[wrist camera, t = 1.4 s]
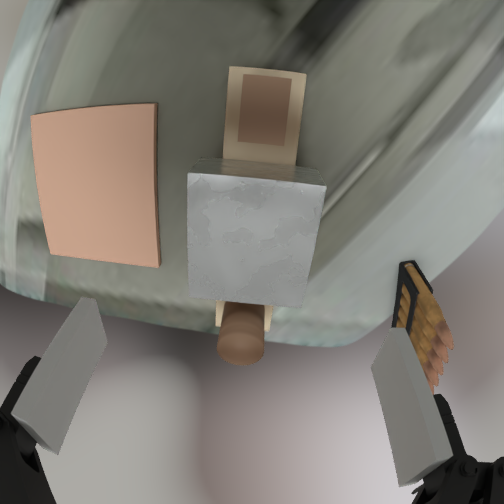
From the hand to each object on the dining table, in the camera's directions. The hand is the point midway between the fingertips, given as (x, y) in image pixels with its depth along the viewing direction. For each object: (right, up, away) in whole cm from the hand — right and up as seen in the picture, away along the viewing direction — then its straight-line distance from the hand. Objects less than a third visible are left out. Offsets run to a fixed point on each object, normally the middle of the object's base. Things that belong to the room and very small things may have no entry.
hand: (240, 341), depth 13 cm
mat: (-15, +10, +14) cm, 23 cm away
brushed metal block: (+1, +6, +10) cm, 12 cm away
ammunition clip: (+18, -2, +20) cm, 27 cm away
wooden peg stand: (+1, +9, +14) cm, 17 cm away
